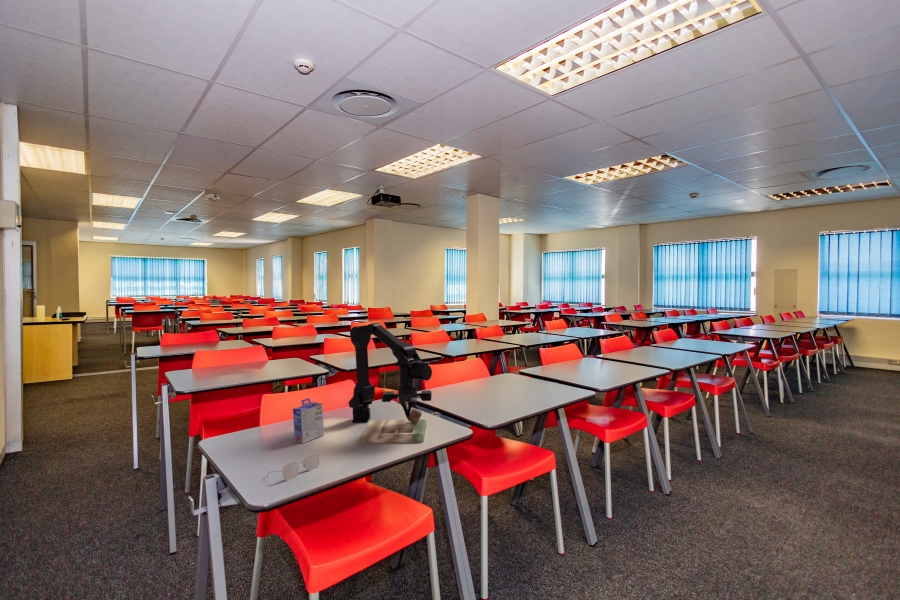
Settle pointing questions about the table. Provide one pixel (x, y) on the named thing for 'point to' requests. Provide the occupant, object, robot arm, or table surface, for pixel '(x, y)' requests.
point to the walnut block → (414, 416)
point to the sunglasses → (292, 468)
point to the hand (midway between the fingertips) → (407, 418)
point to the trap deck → (394, 431)
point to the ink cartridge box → (308, 421)
